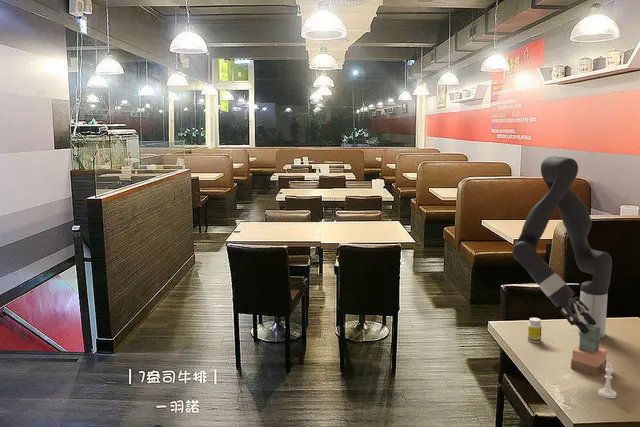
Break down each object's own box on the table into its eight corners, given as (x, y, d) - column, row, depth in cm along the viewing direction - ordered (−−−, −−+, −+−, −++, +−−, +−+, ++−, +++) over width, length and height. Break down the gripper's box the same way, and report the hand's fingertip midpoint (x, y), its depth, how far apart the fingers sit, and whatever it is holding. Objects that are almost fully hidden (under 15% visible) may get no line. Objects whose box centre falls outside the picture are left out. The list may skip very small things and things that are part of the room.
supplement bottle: (542, 343, 203) (543, 321, 202) (528, 342, 204) (529, 321, 203) (539, 338, 208) (540, 317, 207) (526, 337, 209) (527, 316, 208)
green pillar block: (584, 345, 184) (586, 323, 182) (598, 349, 181) (600, 326, 179) (579, 349, 181) (580, 326, 179) (593, 353, 177) (594, 330, 176)
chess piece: (616, 400, 161) (618, 368, 159) (597, 396, 164) (599, 364, 162) (617, 392, 165) (619, 361, 163) (599, 389, 168) (600, 358, 166)
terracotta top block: (581, 352, 187) (581, 343, 186) (606, 359, 181) (606, 349, 180) (572, 360, 181) (572, 350, 181) (597, 367, 175) (598, 357, 175)
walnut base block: (581, 362, 187) (582, 352, 187) (605, 369, 181) (606, 359, 181) (570, 369, 182) (571, 359, 182) (595, 377, 176) (596, 367, 176)
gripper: (558, 288, 178) (594, 329, 172) (570, 278, 189) (605, 316, 183) (540, 301, 182) (575, 341, 177) (554, 290, 193) (587, 328, 187)
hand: (590, 328), depth 180 cm, fingers open, 8 cm apart
